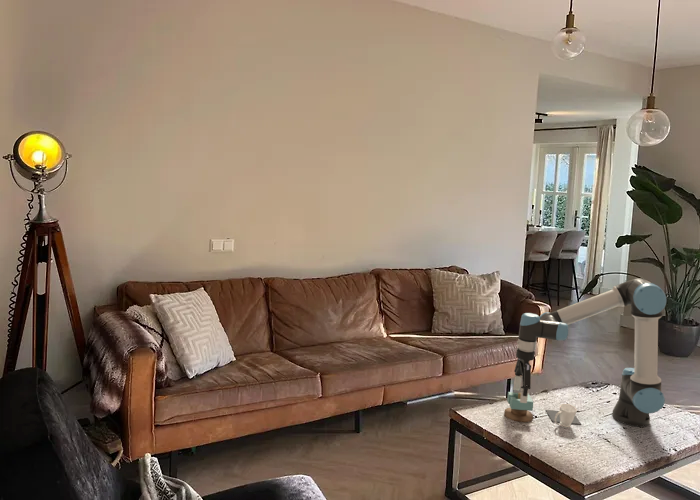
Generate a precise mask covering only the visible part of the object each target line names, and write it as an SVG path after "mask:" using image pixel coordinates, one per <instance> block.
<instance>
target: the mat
mask: <svg viewBox="0 0 700 500" xmlns="http://www.w3.org/2000/svg"><path fill="white" fill-rule="evenodd" d="M559 411H560V410H553V409H545V412H546V414H547V416H548V417H549V419H550V421H551V422H552V423H555V421H554V419H555V416H556V414H557V413H558V412H559ZM556 422H557V423H558V424H560V422H561V421H560V414H559V415H558V416H557V419H556ZM555 424H556V423H555ZM571 425H576V426H577V425H578V426H582V423H581V421H580V420H579V419H578V417H577V416H576V415H575V417H574V419H573V421H572V423H571Z"/></svg>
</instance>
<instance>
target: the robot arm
mask: <svg viewBox="0 0 700 500" xmlns="http://www.w3.org/2000/svg"><path fill="white" fill-rule="evenodd" d="M666 304H667V296H666V293H665V291H664V290H663V289H662V288H661V287H660V286H659V285H657V284H655V283H653V282H651V281H650V280H648V279H645V278H639V277H638V278H633V279H630V280H627V281H624V282H623V283H622V282H621V283H619V284H617V285H613V287H612V289H611V290H610V289H609V290H607V291H605V292H602V293H600V294H596V295H594V296H592V297H589V298H586V299H584V300H581V301H578V302H576V303H574V304H571V305H567V306H565V307H562V308H560V309H557V310H553V311H551V312H549V311H545V312H542V313H541V314H540V316H539V315H538V314H537V313H532V312H525V313H522V315H521V318H520V323H519V330H518V339H517V340H516V344H517V348H516V352H515V357H516V358H517V361H516V364H515V368H514V371H513V372H514V374H515V375H514V382H513V387H512V389H513V391H521V392H520V393H521V397H520V403H527V398H528V394H529V390H531V389H532V388H531V386H532V385H531V376H532V375H531V373H532V372H531V370H532V365H531V364H530V361H533V360H534V359H535V355H536V352H535V351H536V348H537V339H538V338H540V339H547V340H553V341H564V342H565V341H566V340H567V338H568V336H569V325H571V324H574V323H576V322H579V321H582V320H584V319H588V318H590V317H593V316H596V315H598V314H600V313H605V312H606V311H609V310H612V309H614V308H617V307H623V308H625V307H627V306H630V315H631V316H632V317H633V318H634V364H633V365H634V367H625V368H624V369H623V370H622V373H621V381H620V388H619V394H618V400H617V402H616V404H615V405H614V407H613V409H612V412H611V414H612V415H611V416H612V417H613V419H615V420H617V422H620V423H622V424H625V425H628V426H632V427H648V426H649V425H650V421H651V415H650V414H655V413H658V412H659V411H660V410H661V409H663V408H664V406H665V402H666V398H665V395H664V393H663V392H662V378H661V377H660V376H659V375H658V363H659V362H658V360H659V359H658V358H659V357H658V356H659V355H658V353H659V351H658V350H659V346H658V345H659V320H660V319H661V318H662V317H663V310H664V309H665V307H666ZM521 384H522V385H521Z"/></svg>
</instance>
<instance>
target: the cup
mask: <svg viewBox="0 0 700 500" xmlns="http://www.w3.org/2000/svg"><path fill="white" fill-rule="evenodd" d="M558 411H559V412H558V413H557V414H556V416H555V419H554V421H555V424H557V425H558V426H559V427H563V428H570V427H571V426H572V424H571V423H572V421H573V419H574V417H575V416H576V414H577V411H578V409H577V408H576V406H574V405H572V404H569V403H561V404H560V405H559V410H558ZM559 414H560V421H561V422H560V423H557V422H556V419H557V416H558V415H559Z"/></svg>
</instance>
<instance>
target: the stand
mask: <svg viewBox="0 0 700 500" xmlns="http://www.w3.org/2000/svg"><path fill="white" fill-rule="evenodd" d="M517 393H518V399H520V397H521V392H517ZM503 413H504V414H503V415H504V417H505V418H507V419H508V420H510V421H513V422H516V423H530V422H532V421H533V419H534V415H533V413H532V412H531V411H529V410H518V409H511V407H510V406H509V407H507V408H505V409H504V412H503Z"/></svg>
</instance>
